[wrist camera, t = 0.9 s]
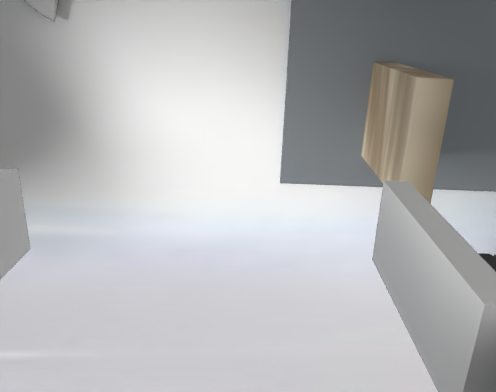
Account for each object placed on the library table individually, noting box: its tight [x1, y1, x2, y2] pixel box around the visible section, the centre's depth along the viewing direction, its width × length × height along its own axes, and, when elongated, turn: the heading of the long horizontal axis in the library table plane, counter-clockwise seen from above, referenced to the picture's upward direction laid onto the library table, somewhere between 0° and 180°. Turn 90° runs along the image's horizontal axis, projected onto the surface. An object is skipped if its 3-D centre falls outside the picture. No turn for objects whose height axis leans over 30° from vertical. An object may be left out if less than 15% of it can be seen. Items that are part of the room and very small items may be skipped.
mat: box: [280, 0, 496, 191], centre depth 33 cm, size 20×22×1 cm
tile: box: [361, 62, 454, 203], centre depth 30 cm, size 2×7×10 cm, turn 178°
